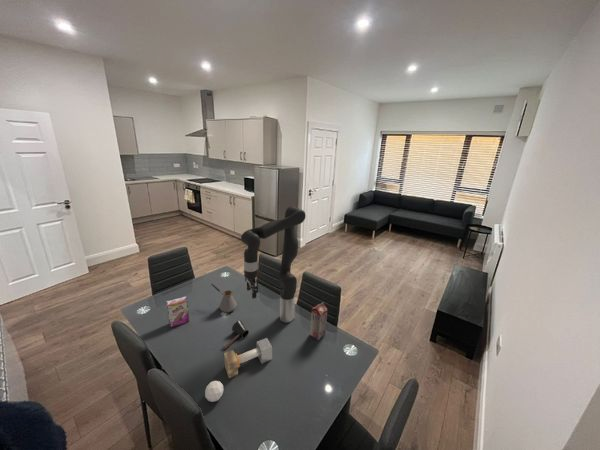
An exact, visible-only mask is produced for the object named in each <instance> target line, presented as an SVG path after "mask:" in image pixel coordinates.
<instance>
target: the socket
mask: <svg viewBox="0 0 600 450" xmlns="http://www.w3.org/2000/svg"><path fill="white" fill-rule="evenodd" d="M235 353H236V352H235V351H234V349H231V350H229V351H225V352H224V353H223V354H224V367H225V371H226V373H227V376H228V378H229V379H231V378H233V377H236V376H238V375H239V368H238V361H237V358H236V356H235Z"/></svg>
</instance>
